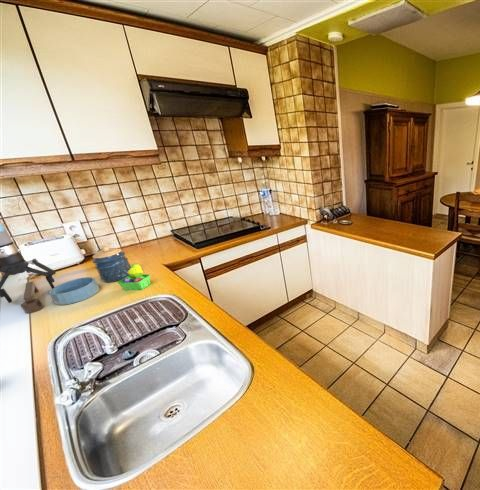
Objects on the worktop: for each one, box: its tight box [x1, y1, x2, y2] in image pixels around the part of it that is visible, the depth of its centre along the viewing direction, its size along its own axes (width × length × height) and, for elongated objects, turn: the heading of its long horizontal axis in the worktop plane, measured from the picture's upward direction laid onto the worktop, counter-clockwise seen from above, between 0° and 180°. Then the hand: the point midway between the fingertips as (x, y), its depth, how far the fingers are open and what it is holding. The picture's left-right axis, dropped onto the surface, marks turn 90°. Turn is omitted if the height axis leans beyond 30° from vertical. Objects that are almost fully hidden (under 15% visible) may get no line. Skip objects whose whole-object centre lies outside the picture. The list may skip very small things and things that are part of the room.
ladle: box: [19, 280, 45, 315], centre depth 123 cm, size 24×6×6 cm, turn 48°
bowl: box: [48, 276, 100, 306], centre depth 126 cm, size 15×15×6 cm
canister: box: [91, 246, 132, 283], centre depth 140 cm, size 13×13×18 cm
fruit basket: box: [116, 263, 151, 291], centre depth 130 cm, size 11×9×11 cm
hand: (33, 295), depth 126 cm, fingers open, 13 cm apart
